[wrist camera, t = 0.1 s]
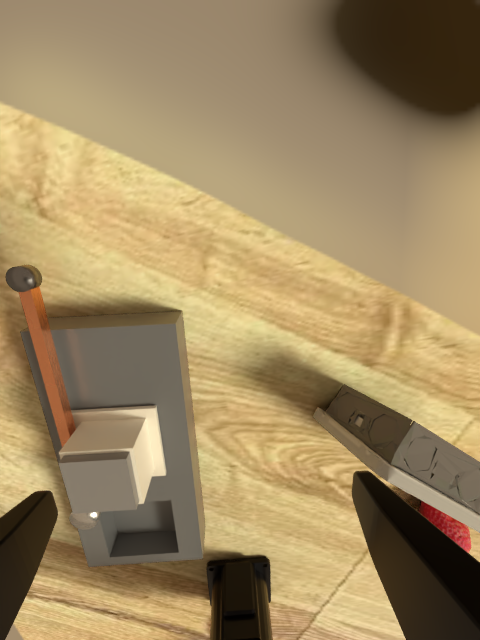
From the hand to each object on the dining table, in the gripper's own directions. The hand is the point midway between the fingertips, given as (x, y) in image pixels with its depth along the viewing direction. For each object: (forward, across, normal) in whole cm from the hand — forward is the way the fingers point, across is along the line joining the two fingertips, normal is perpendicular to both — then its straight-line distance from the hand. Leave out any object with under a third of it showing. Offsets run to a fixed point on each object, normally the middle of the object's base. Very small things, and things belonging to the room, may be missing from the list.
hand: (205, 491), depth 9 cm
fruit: (+15, -19, +19) cm, 31 cm away
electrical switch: (+15, -12, +8) cm, 21 cm away
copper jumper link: (+11, +11, +4) cm, 16 cm away
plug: (+14, +8, +8) cm, 17 cm away
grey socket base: (+14, +8, +10) cm, 19 cm away
